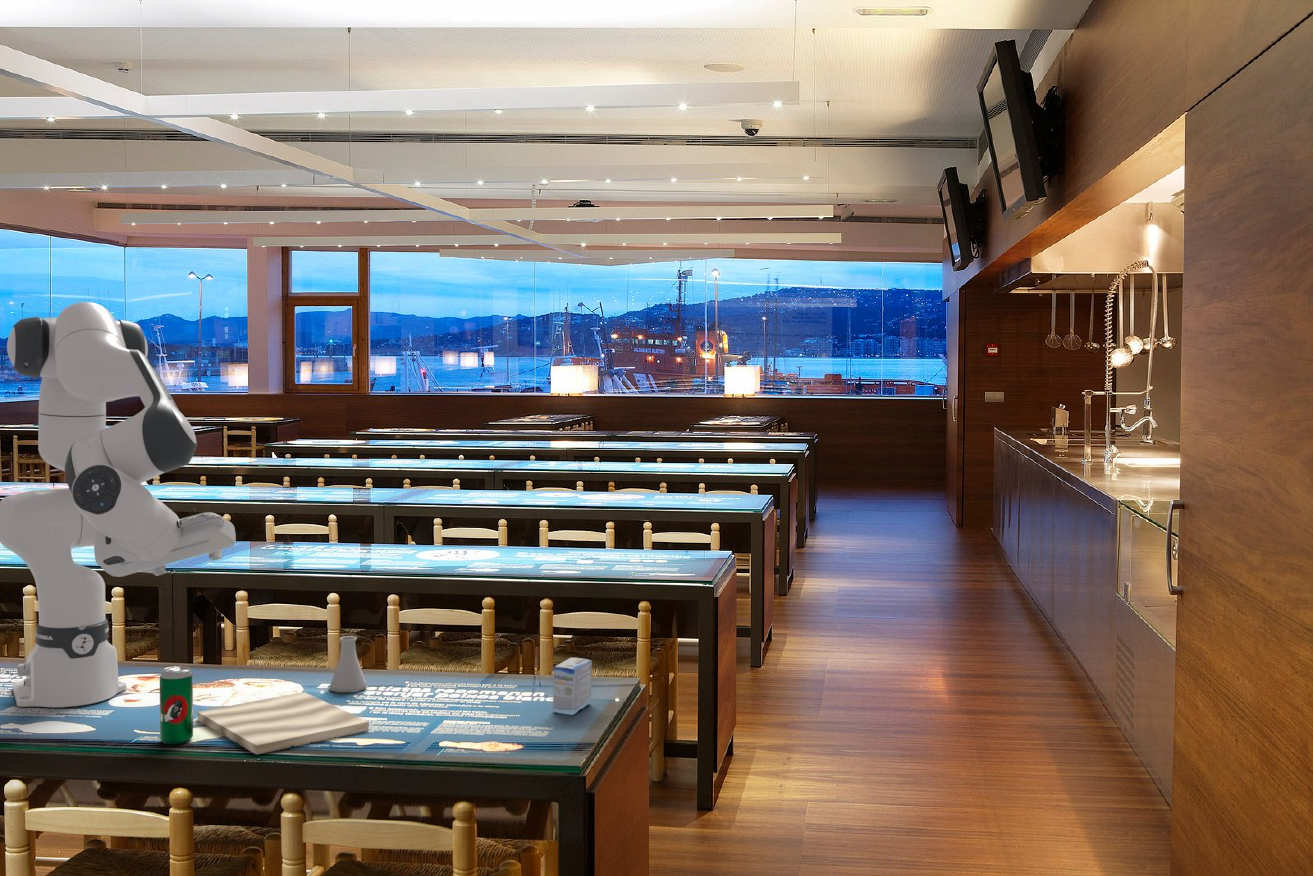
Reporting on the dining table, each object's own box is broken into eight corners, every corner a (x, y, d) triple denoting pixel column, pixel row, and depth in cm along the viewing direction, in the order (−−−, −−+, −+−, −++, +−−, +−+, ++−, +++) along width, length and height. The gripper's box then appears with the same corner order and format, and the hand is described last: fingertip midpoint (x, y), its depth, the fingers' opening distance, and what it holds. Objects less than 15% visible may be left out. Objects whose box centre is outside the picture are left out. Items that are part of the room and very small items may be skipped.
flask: (357, 695, 225) (357, 643, 224) (321, 692, 226) (321, 641, 226) (373, 685, 232) (373, 635, 231) (339, 682, 233) (339, 632, 233)
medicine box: (569, 702, 222) (570, 656, 222) (591, 705, 221) (592, 659, 221) (552, 713, 215) (552, 666, 215) (574, 716, 214) (575, 669, 213)
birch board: (197, 720, 207) (197, 711, 207) (304, 700, 221) (304, 692, 221) (256, 754, 190) (256, 745, 189) (368, 730, 203) (368, 721, 203)
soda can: (199, 739, 196) (199, 668, 196) (172, 747, 192) (171, 674, 192) (180, 734, 199) (180, 664, 199) (153, 741, 195) (153, 670, 194)
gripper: (213, 494, 183) (249, 529, 196) (84, 529, 183) (129, 562, 195) (216, 531, 181) (252, 563, 193) (85, 566, 180) (130, 597, 192)
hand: (189, 563), depth 194 cm, fingers open, 8 cm apart
